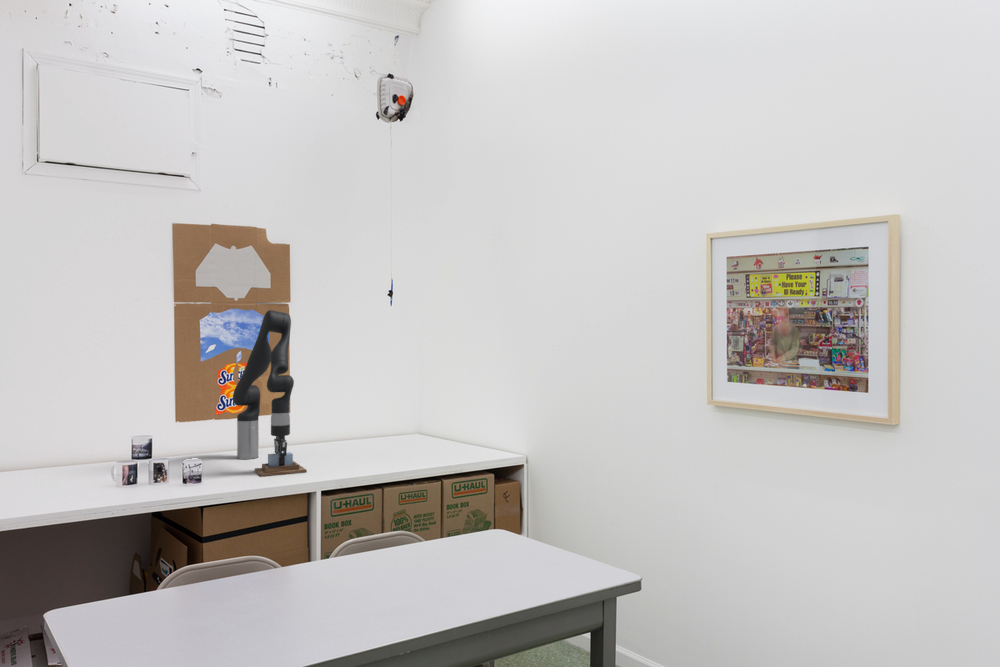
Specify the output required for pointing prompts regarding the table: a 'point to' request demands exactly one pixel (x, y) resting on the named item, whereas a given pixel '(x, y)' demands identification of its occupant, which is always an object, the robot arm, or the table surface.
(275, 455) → the bar
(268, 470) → the tray
